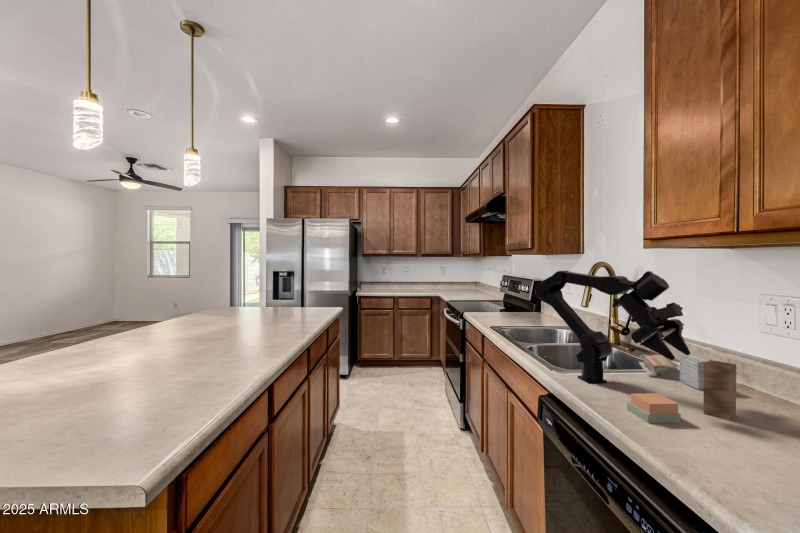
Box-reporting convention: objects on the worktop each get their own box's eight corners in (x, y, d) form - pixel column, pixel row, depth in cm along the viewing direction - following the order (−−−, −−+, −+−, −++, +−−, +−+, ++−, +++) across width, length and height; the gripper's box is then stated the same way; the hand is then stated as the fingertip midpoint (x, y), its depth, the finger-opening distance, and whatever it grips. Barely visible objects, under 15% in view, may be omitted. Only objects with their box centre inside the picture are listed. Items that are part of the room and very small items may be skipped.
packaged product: (685, 367, 120) (649, 364, 124) (685, 382, 120) (649, 378, 124) (670, 354, 137) (638, 352, 141) (670, 367, 137) (638, 364, 141)
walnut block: (703, 413, 94) (703, 362, 94) (711, 409, 97) (711, 360, 97) (728, 420, 90) (728, 367, 90) (736, 415, 93) (736, 364, 93)
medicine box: (713, 390, 111) (713, 361, 111) (698, 390, 111) (698, 361, 111) (693, 381, 119) (693, 355, 119) (679, 381, 119) (679, 355, 119)
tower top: (631, 403, 97) (631, 393, 97) (657, 402, 97) (657, 393, 97) (649, 414, 90) (649, 403, 90) (678, 413, 90) (678, 403, 90)
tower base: (626, 411, 97) (626, 402, 97) (656, 411, 98) (656, 401, 98) (648, 425, 89) (648, 414, 89) (680, 424, 90) (680, 414, 90)
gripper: (645, 295, 99) (692, 344, 90) (677, 291, 109) (722, 336, 100) (614, 319, 106) (655, 368, 97) (646, 314, 116) (686, 357, 107)
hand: (681, 356), depth 100 cm, fingers open, 9 cm apart
